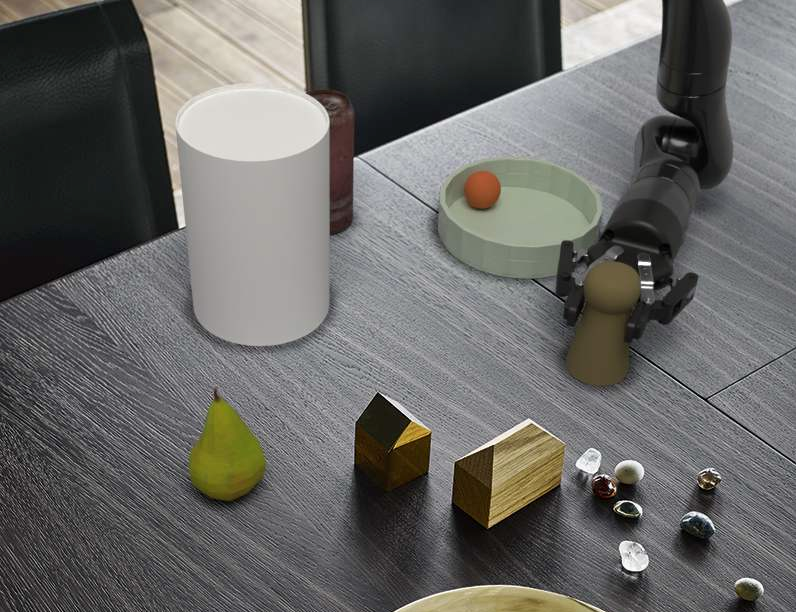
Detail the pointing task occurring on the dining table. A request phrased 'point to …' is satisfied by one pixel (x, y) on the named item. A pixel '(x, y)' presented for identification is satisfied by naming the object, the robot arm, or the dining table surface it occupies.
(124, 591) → the dining table surface
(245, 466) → the fruit
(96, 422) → the dining table surface
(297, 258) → the canister
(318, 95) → the can
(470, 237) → the bowl
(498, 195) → the ball
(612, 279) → the brown pawn
